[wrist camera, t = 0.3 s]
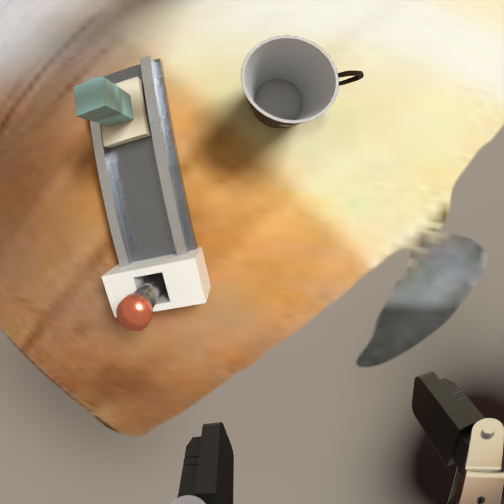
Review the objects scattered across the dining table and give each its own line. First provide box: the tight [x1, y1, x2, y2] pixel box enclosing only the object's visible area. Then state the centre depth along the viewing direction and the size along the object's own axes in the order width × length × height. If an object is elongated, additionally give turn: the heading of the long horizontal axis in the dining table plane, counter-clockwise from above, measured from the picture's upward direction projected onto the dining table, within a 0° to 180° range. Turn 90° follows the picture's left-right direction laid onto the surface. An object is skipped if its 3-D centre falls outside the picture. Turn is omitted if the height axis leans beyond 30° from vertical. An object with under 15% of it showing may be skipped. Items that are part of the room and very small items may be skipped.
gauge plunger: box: [116, 273, 166, 331], centre depth 31 cm, size 3×3×9 cm
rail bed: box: [85, 56, 197, 277], centre depth 35 cm, size 27×10×3 cm, turn 11°
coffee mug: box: [241, 35, 364, 128], centre depth 30 cm, size 12×9×10 cm
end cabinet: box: [102, 247, 211, 317], centre depth 36 cm, size 5×11×6 cm, turn 101°
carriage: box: [74, 76, 151, 148], centre depth 28 cm, size 7×5×10 cm
